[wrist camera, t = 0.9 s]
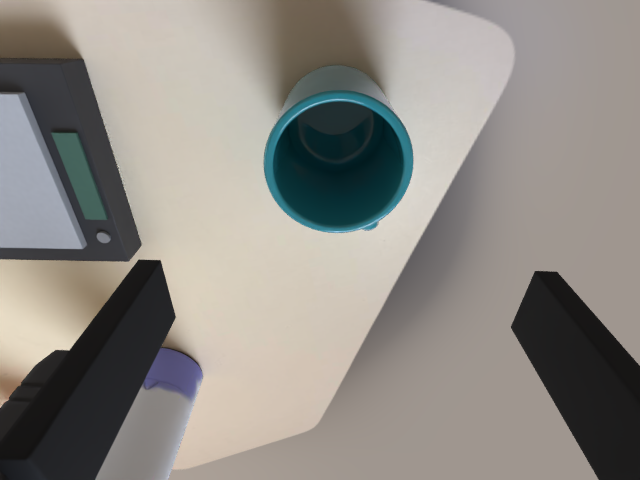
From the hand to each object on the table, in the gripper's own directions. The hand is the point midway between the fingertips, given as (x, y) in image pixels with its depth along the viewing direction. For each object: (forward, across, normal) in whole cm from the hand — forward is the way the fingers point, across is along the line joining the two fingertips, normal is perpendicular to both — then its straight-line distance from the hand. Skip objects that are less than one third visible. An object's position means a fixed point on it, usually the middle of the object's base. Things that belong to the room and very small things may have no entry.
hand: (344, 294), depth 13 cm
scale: (+22, -28, -4) cm, 36 cm away
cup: (+22, +1, -1) cm, 22 cm away
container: (+22, -22, -34) cm, 46 cm away
